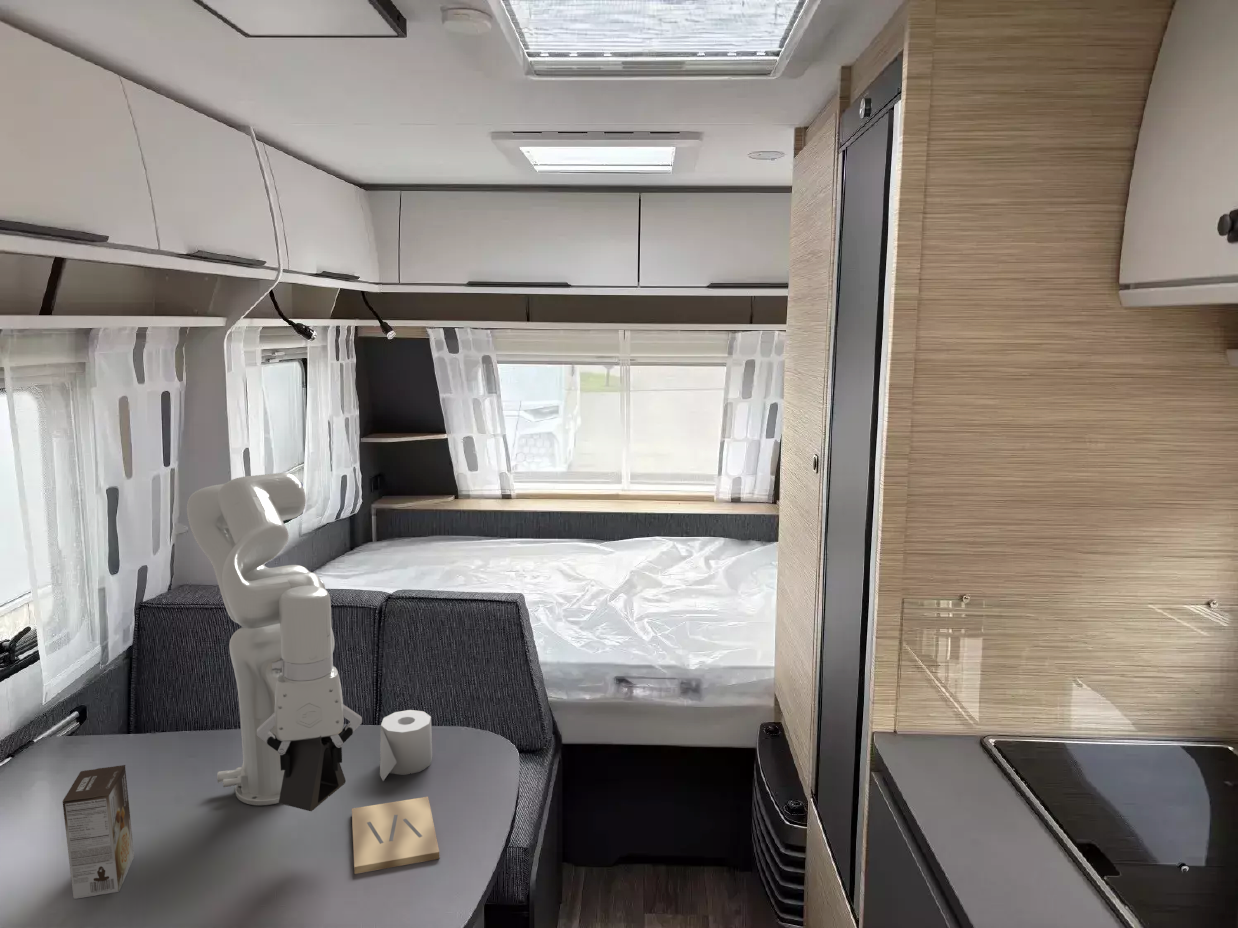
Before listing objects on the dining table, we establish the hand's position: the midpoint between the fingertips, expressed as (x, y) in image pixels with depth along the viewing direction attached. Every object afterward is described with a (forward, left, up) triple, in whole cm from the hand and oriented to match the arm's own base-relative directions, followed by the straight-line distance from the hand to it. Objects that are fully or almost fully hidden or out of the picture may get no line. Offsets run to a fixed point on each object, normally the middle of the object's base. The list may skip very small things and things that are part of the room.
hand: (312, 768), depth 140 cm
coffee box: (-31, +1, -14) cm, 34 cm away
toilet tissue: (+16, +23, -14) cm, 31 cm away
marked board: (+12, -1, -14) cm, 18 cm away
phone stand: (0, 0, -4) cm, 4 cm away
